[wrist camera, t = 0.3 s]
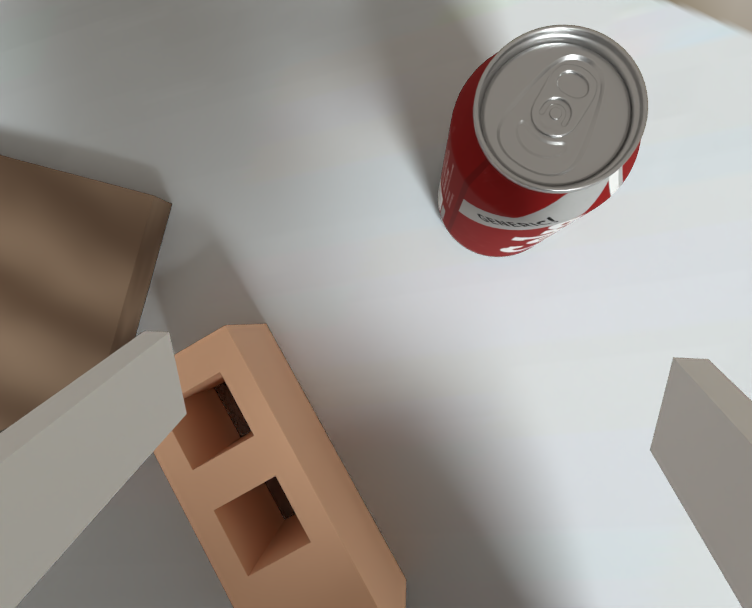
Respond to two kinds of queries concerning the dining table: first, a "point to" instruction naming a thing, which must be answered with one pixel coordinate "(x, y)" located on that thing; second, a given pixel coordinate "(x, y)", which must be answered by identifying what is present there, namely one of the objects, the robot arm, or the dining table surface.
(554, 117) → the soda can
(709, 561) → the dining table surface
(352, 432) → the dining table surface
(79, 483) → the robot arm
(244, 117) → the dining table surface
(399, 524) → the dining table surface
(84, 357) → the post base
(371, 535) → the block
